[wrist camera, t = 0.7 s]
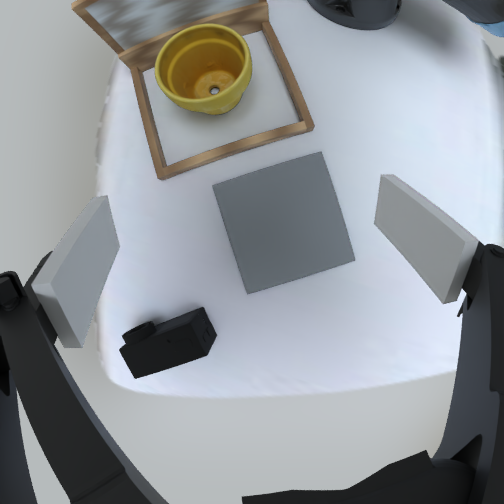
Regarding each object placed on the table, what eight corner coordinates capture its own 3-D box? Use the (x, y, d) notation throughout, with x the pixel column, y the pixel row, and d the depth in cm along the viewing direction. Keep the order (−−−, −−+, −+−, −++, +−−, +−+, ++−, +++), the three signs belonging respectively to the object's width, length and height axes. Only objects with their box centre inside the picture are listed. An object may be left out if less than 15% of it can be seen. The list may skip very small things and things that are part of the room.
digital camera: (200, 297, 40) (185, 312, 33) (218, 334, 40) (207, 356, 33) (135, 324, 41) (113, 341, 34) (153, 357, 41) (134, 379, 34)
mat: (320, 152, 37) (321, 151, 37) (354, 259, 38) (355, 260, 38) (213, 186, 39) (212, 185, 38) (247, 293, 40) (247, 294, 39)
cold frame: (265, 20, 36) (259, -68, 18) (312, 130, 37) (340, 65, 19) (134, 67, 38) (71, 3, 20) (163, 180, 39) (87, 154, 21)
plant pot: (168, 121, 38) (140, 96, 28) (191, 56, 37) (172, 19, 27) (244, 136, 38) (234, 110, 28) (264, 67, 37) (261, 28, 27)
